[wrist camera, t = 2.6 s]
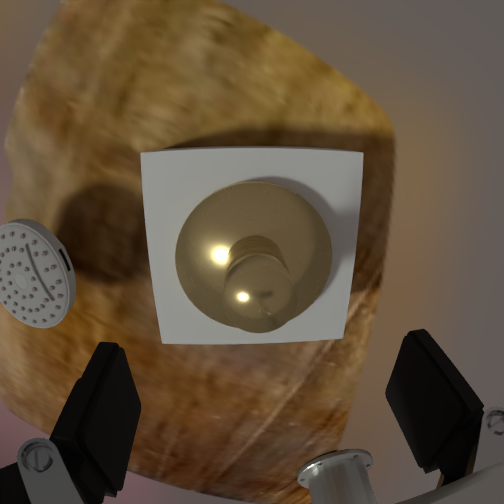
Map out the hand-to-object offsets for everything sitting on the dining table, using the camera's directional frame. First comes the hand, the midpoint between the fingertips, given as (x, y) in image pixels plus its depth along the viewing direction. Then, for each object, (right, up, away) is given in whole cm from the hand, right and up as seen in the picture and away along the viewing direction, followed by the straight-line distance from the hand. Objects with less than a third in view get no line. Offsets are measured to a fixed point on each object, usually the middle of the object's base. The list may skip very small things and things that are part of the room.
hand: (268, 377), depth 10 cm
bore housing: (-1, +6, +17) cm, 18 cm away
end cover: (-1, +5, +15) cm, 16 cm away
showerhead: (-20, +4, +17) cm, 26 cm away
